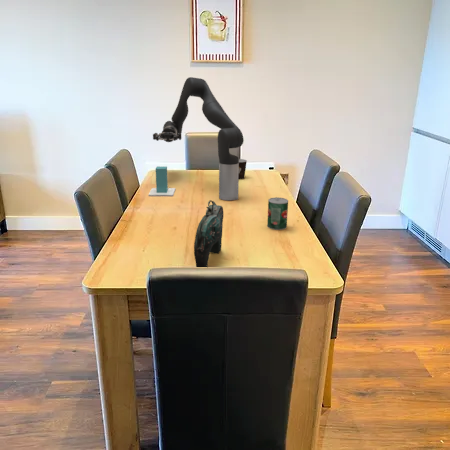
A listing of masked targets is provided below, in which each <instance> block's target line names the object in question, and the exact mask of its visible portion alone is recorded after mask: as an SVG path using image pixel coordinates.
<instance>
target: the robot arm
mask: <svg viewBox="0 0 450 450" xmlns="http://www.w3.org/2000/svg"><path fill="white" fill-rule="evenodd" d="M190 97H197V98H200V99H201V100H202V101H203V102H202V107H201V111H202V114H203V115H204V117H205V119H206V120H207V121H208V122H209V123H210V124H212V125H213V126H215V127H217V128H219V131H217V132H218V133H217V154H218V166H219V167H218V180H219V181H218V198H219V200H223V201H236V200H239V181H240V179H238V172H239V159H240V158H239V156H237V155H235V154H231V153H230V149H237V148H240V147H241V146H243V144H244V141H245V140H244V136H243V132H242V130H241V128H239V127H238V125H236V124H235V122H234V121H233V120H232V119H231V118H230V117H229V115H228V114H227V113H226V111H225V110H224V108H223V106H222V105H221V104H220V102H219V101H218V100H217V99H216V97H215V95H214V94H213V92H212V90H211V89H210V87H209V85H208V82H207V80H205V79H203V78H198V77H192V76H191V77H187V78H186V79H185V81H184V83H183V86H182V89H181V92H180V96H179V100H178V103H177V105H176V108H175V110H174V111H173V114H172V116H171V120H167V121H166V122H165V123H164V124H163V127H162V131H161V132H160V133H158V132H155V133H152V140H154V141H164V142H167V143H172V142H174V141H178V140H179V141H181V140H182V133H183V132H182V131H183V126H184V122H185V121H186V119H187V117H188V115H189V106H188V100H189V98H190Z"/></svg>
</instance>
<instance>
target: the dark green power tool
mask: <svg viewBox="0 0 450 450" xmlns="http://www.w3.org/2000/svg"><path fill="white" fill-rule="evenodd" d="M223 222H224V208H223V206H222V205H219V204H216V202H215V200H211V199H210V200H208V201H207V206H206V210H205V214H204V216H202V218H201V220H200V221H199V223H198V225H197V228H196V231H195V235H194V236H195V238H194V244H193V250H194V251H193V254H194V260H195V267H207V268H209V265H208V264H209V259H210V254H220V252H221V251H222V239H223V228H224V227H223V224H224V223H223Z"/></svg>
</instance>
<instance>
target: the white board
mask: <svg viewBox="0 0 450 450" xmlns="http://www.w3.org/2000/svg"><path fill="white" fill-rule="evenodd" d="M175 192H176V187H168V191H167V193H157V190H156V187H151V189H150V191H149V193H148V197H174V195H175Z"/></svg>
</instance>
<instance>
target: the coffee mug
mask: <svg viewBox="0 0 450 450" xmlns="http://www.w3.org/2000/svg"><path fill="white" fill-rule="evenodd" d="M247 162H248V161H247V160H246V159H244V158H243V159H242V158H239V172H238V180H243V179H245V176H246V170H247V168H246V167H247Z"/></svg>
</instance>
